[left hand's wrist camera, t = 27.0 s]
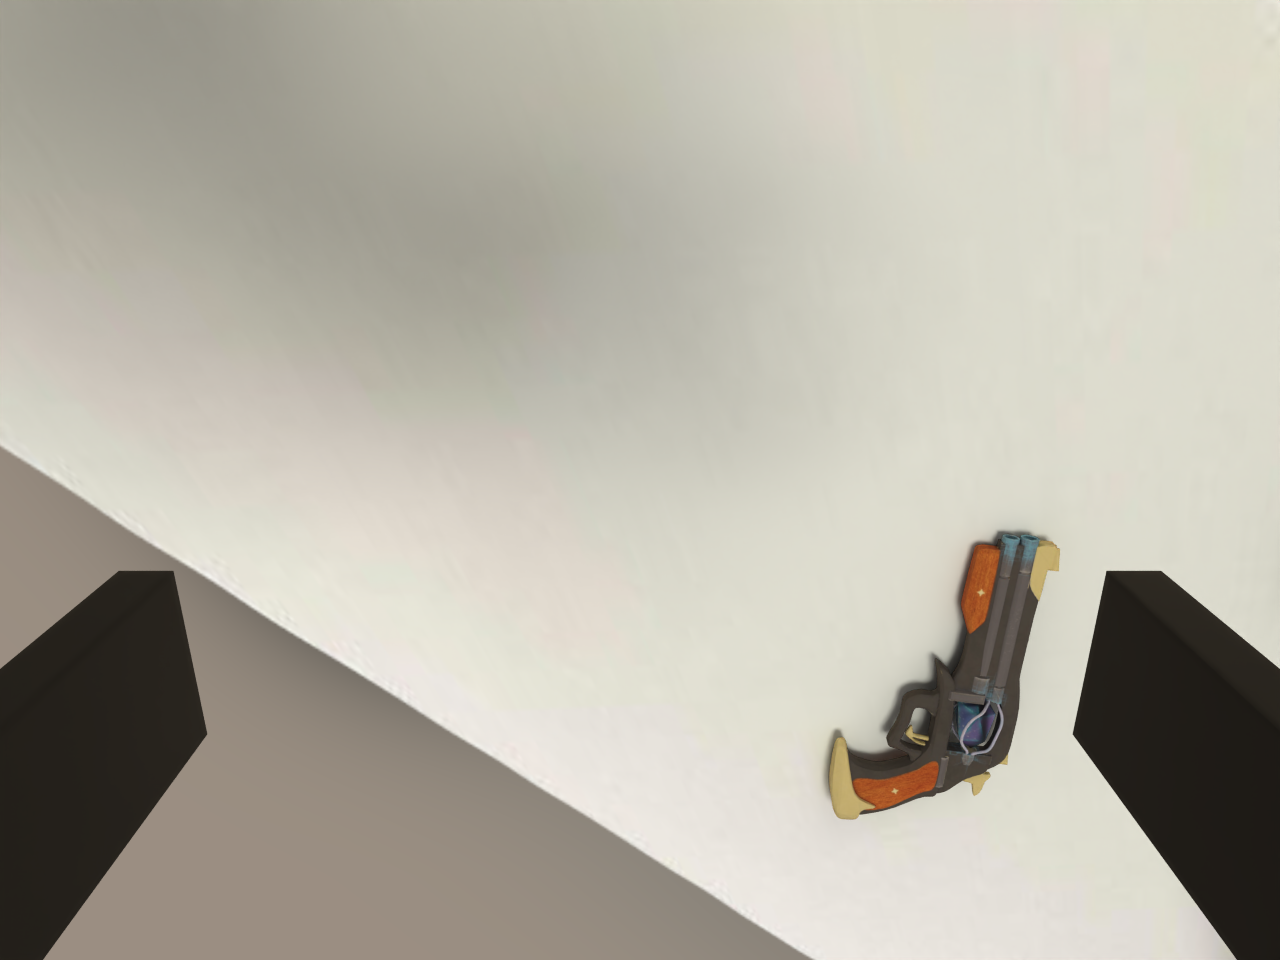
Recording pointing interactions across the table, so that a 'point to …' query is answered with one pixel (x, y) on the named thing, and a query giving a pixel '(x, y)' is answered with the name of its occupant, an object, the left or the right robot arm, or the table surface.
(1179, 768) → the left robot arm
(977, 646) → the toy gun
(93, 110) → the table surface
